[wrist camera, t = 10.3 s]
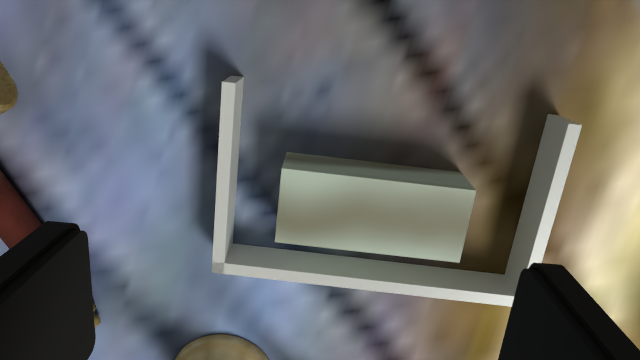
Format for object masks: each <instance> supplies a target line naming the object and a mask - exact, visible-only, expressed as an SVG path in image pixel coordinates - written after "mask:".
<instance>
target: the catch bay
mask: <svg viewBox="0 0 640 360" xmlns="http://www.w3.org/2000/svg"><path fill="white" fill-rule="evenodd" d="M243 82H244V77H241V76H232V75H231V76H230V77H228V78H227V79H225V80H224V81H222V90H221V108H220V127H219V146H218V165H217V184H216V203H215V222H214V241H213V260H212V273H221V274H230V275H238V276H247V277H256V278H265V279H274V280H282V281H291V282H300V283H309V284H318V285H326V286H335V287H344V288H353V289H362V290H370V291H379V292H388V293H397V294H405V295H414V296H423V297H432V298H441V299H449V300H458V301H467V302H476V303H485V304H493V305H502V306H511V307H512V304H513V300H514V296H515V292H516V288H517V284H518V280H519V276H520V273H521V271H522V270H523V269H524V268H526V269H529V267H530V265H531V264H532V263H541V262H542V259H543V256H544V252H545V249H546V245H547V242H548V239H549V235H550V232H551V228H552V225H553V222H554V218H555V215H556V212H557V208H558V205H559V201H560V198H561V195H562V191H563V188H564V184H565V181H566V178H567V174H568V171H569V168H570V164H571V161H572V157H573V154H574V151H575V147H576V144H577V140H578V137H579V134H580V130H581V127H582V125H580V124H578V123H576V122H574V121H571V120H569V119H567V118H565V117H562V116H560V115H553V114H548V115H547V119H546V123H545V126H544V130H543V134H542V137H541V141H540V145H539V148H538V152H537V156H536V160H535V163H534V167H533V171H532V174H531V178H530V182H529V185H528V189H527V193H526V197H525V200H524V204H523V208H522V211H521V215H520V219H519V222H518V226H517V230H516V233H515V237H514V241H513V245H512V248H511V252H510V256H509V259H508V263H507V267H506V270H505V274H504V275H503V274H495V273H486V272H477V271H468V270H460V269H451V268H442V267H434V266H425V265H416V264H408V263H399V262H390V261H382V260H373V259H364V258H355V257H347V256H338V255H329V254H321V253H312V252H303V251H295V250H286V249H277V248H269V247H260V246H251V245H242V244H234V243H233V232H234V217H235V202H236V187H237V172H238V157H239V142H240V127H241V112H242V97H243Z"/></svg>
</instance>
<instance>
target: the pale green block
mask: <svg viewBox="0 0 640 360" xmlns="http://www.w3.org/2000/svg"><path fill="white" fill-rule="evenodd" d="M475 194H476V190H475V188H474V187H473V186H472V185H471V184H470V182H469V181H468V180H467V179H466V177H465V176H464V175H463V174H462V173H461V172H457V171H448V170H440V169H431V168H422V167H414V166H405V165H396V164H388V163H379V162H370V161H362V160H353V159H344V158H336V157H327V156H318V155H310V154H301V153H292V152H286V156H285V159H284V162H283V166H282V170H281V181H280V192H279V202H278V213H277V224H276V234H275V242H278V243H287V244H296V245H305V246H313V247H322V248H331V249H340V250H349V251H358V252H367V253H376V254H385V255H394V256H403V257H412V258H421V259H430V260H439V261H448V262H457V263H460V259H461V254H462V250H463V246H464V241H465V237H466V233H467V228H468V224H469V220H470V216H471V211H472V207H473V203H474V198H475Z"/></svg>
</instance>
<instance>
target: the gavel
mask: <svg viewBox="0 0 640 360" xmlns="http://www.w3.org/2000/svg"><path fill="white" fill-rule="evenodd" d="M16 101H17V89H16V86H15V83H14V81H13V80H12V78H11V76H10V75H9V73H8V72H7V70H6V69H5V67H4V66H3V64H2V63H1V61H0V114H1V113H3V112H5V111H7V110H9V109H11V108H12V107H14V105H15V104H16ZM40 225H42V224H41V222H40V221H39V220H38V218H37V217H36V216H35V214H34V213H33V212H32V211H31V209H30V208H29V207H28V205H27V204H26V203H25V202H24V200H23V199H22V198H21V196H20V195H19V194H18V192H17V191H16V190H15V189H14V187H13V186H12V185H11V183H10V182H9V181H8V179H7V178H6V177H5V176H4V174H3V173H2V172H1V170H0V238H1V239H2V240H3V242H4V243H5V244H6V245H7V247H8V248H9V249H11V248H12V247H13V246H15V245H16V244H17V243H18V242H20V241H21V240H22V239H24V238H25V237H26V236H28V235H29V234H30V233H31V232H33V231H34V230H35V229H37V228H38V227H39V226H40ZM95 310H96V305H95V304H94V303H93V311H95ZM100 322H101V321H100V317H99V316H98V315H97V314H95V313H94V324H95V327H96V326H98V325H99V324H100Z"/></svg>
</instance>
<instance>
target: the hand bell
mask: <svg viewBox="0 0 640 360" xmlns="http://www.w3.org/2000/svg"><path fill="white" fill-rule="evenodd" d="M175 360H269V359H268V357H267V356H266V354H265V353H264V352H263V351H262V350H261V349H259V348H258V347H257V346H256V345H254V344H253V343H251V342H249V341H247V340H245V339H243V338H240V337H237V336H232V335H225V334H215V335H209V336H204V337H200V338H198V339H196V340H194V341H192V342H190V343H189V344H187V345H186V346H185V347H184V348H183V349H182V350H181V351H180V352H179V354H178V355H177V357H176V359H175Z"/></svg>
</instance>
